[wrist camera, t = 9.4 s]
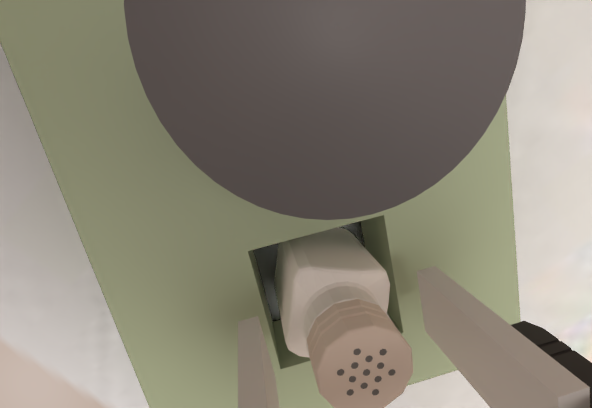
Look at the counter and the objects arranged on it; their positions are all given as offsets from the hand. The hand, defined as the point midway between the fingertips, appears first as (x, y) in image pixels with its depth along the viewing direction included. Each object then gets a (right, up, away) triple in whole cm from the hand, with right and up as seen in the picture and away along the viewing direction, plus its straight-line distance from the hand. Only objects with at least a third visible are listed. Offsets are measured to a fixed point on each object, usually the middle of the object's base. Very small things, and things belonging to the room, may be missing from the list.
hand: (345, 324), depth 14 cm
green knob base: (-2, +6, +5) cm, 8 cm away
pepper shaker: (-1, +2, +7) cm, 7 cm away
